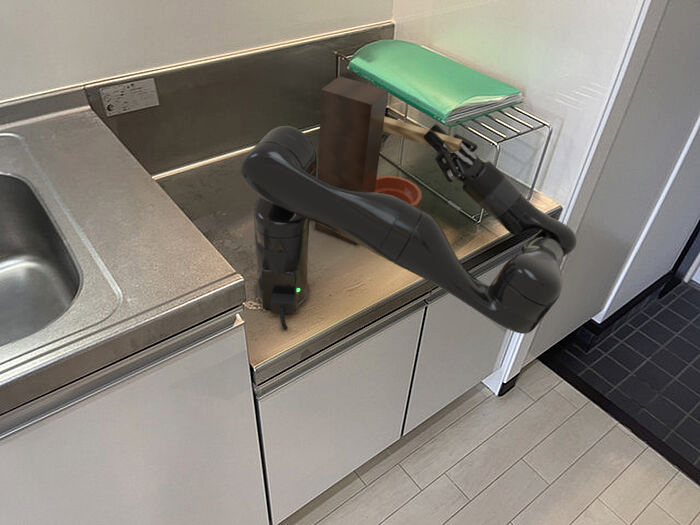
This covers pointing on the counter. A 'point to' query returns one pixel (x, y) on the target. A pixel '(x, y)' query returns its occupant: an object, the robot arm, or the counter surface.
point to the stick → (416, 133)
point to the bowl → (399, 189)
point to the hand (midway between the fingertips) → (429, 130)
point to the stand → (350, 137)
